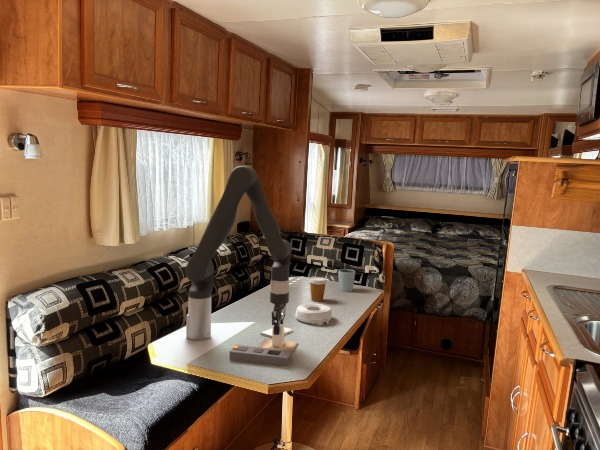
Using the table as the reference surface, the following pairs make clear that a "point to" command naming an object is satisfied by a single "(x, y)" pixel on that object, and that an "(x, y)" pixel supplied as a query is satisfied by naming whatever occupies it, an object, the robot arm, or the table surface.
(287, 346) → the cork mat
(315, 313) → the cable
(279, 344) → the charger
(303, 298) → the table surface
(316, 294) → the disposable coffee cup
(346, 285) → the pale teal cup
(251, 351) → the power strip
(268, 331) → the external hard drive
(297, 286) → the table surface
